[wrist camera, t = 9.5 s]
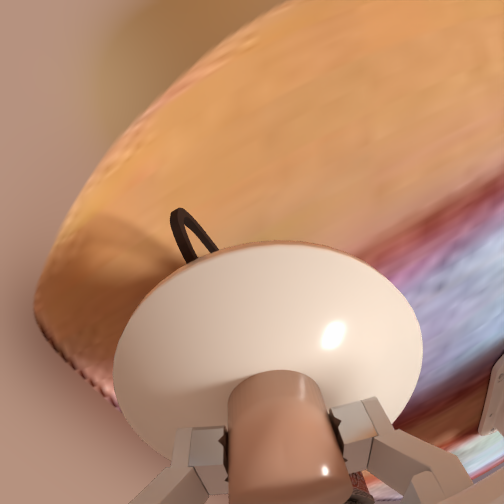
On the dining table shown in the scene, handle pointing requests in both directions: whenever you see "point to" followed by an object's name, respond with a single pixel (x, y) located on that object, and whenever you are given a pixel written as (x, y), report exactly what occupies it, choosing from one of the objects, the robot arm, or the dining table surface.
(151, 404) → the lid
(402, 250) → the dining table surface
